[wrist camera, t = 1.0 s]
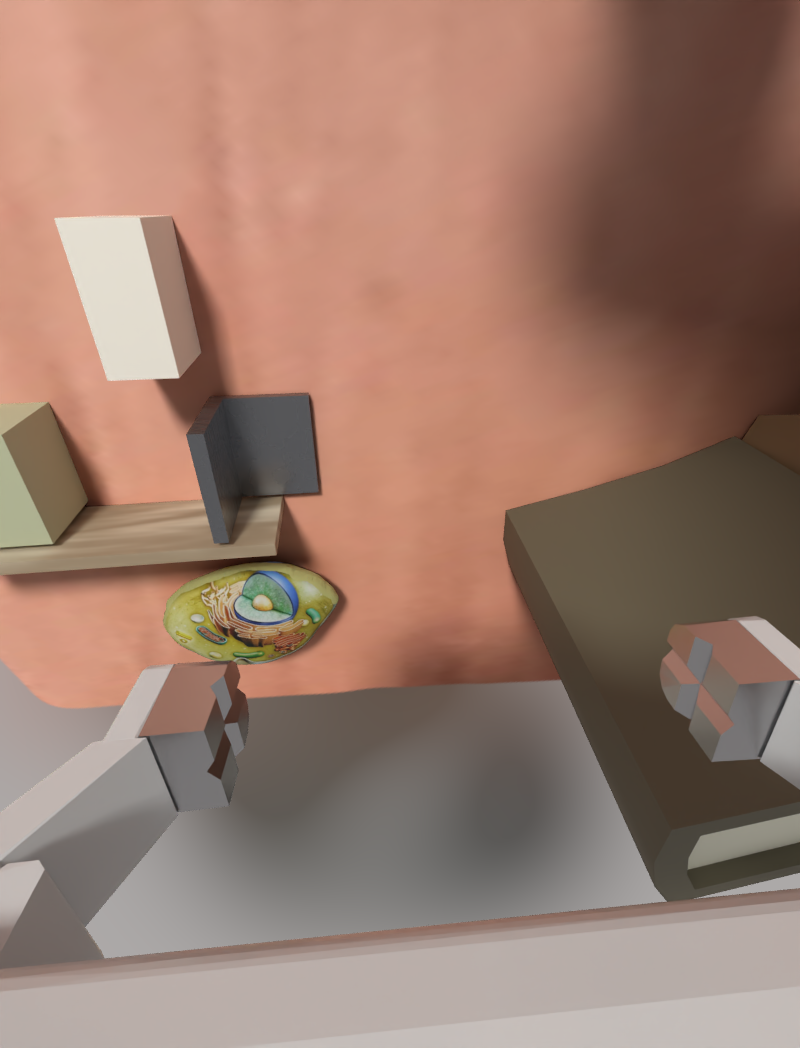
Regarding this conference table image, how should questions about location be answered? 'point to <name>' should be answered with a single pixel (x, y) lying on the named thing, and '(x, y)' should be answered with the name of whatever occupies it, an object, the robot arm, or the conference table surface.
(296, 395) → the bookend
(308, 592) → the cell model
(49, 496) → the book olive
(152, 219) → the book ivory
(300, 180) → the conference table surface
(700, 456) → the book
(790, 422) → the photo frame
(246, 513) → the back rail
